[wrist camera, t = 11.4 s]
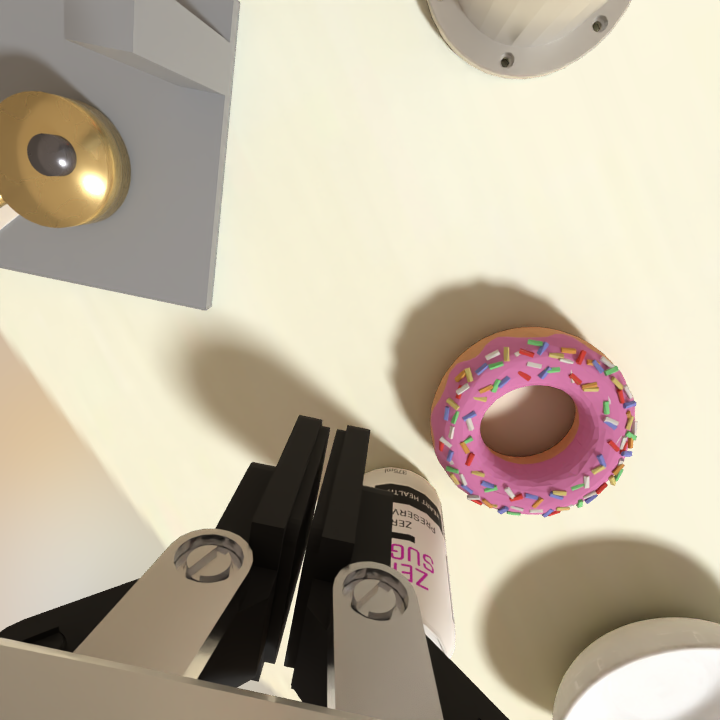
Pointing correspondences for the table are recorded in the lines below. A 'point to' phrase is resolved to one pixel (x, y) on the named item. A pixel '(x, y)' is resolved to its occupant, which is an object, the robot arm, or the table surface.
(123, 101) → the stand
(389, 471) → the white soda can
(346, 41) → the table surface
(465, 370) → the donut
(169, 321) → the table surface
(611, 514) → the table surface
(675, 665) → the serving bowl
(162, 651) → the robot arm
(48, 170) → the gold pan with handle
